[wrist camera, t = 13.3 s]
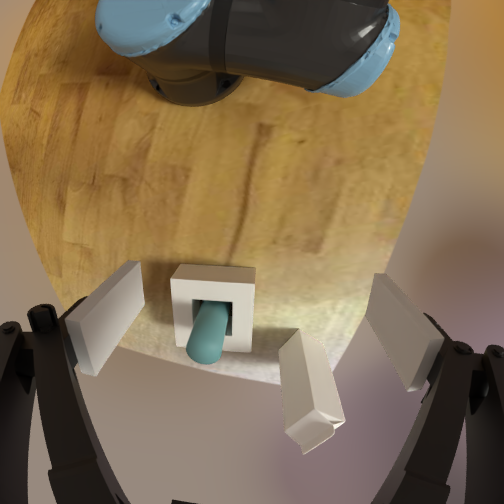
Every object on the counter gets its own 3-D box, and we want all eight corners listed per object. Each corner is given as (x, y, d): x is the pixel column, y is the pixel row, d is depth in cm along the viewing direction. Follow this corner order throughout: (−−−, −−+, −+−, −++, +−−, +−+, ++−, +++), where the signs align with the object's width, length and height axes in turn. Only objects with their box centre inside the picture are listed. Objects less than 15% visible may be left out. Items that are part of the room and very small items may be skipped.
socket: (180, 263, 46) (170, 278, 40) (255, 267, 46) (254, 283, 40) (184, 326, 50) (176, 346, 44) (252, 331, 50) (251, 352, 44)
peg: (204, 286, 47) (184, 334, 34) (231, 288, 47) (221, 338, 34) (204, 310, 49) (187, 362, 35) (231, 312, 49) (221, 365, 35)
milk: (278, 349, 51) (283, 449, 30) (299, 327, 49) (316, 427, 28) (303, 363, 52) (317, 460, 31) (324, 343, 50) (350, 439, 29)
